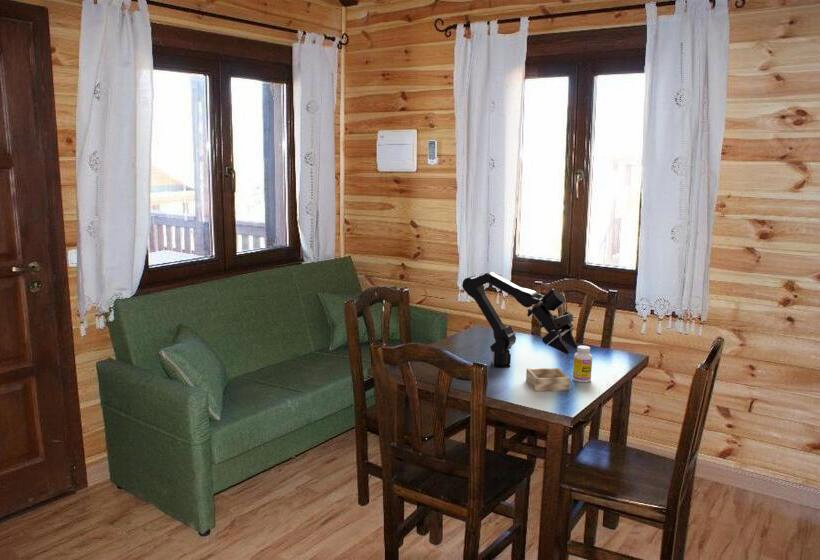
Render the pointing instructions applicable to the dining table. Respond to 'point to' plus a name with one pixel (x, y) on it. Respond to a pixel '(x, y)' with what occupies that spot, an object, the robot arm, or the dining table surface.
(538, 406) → the dining table surface
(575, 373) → the supplement bottle
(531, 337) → the dining table surface
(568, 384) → the birch box
